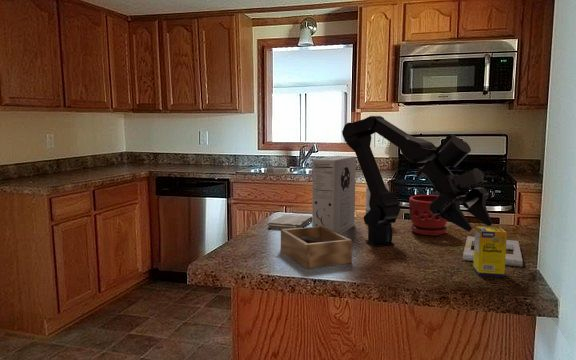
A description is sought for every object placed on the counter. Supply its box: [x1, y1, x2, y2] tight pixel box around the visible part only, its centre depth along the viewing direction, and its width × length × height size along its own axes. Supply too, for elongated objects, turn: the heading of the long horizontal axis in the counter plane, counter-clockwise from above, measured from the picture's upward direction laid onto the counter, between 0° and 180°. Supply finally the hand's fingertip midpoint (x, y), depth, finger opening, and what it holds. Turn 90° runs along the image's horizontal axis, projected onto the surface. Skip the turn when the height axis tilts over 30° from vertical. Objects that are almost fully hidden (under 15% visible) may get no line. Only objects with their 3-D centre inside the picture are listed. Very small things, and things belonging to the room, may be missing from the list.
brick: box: [299, 236, 332, 244], centre depth 123 cm, size 11×4×5 cm, turn 58°
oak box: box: [280, 226, 353, 269], centre depth 121 cm, size 13×18×6 cm
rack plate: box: [462, 235, 524, 267], centre depth 125 cm, size 22×14×2 cm, turn 155°
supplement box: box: [472, 225, 508, 278], centre depth 107 cm, size 6×6×11 cm
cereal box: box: [311, 155, 357, 235], centre depth 150 cm, size 22×8×25 cm, turn 154°
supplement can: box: [365, 181, 390, 215], centre depth 163 cm, size 8×8×15 cm
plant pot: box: [408, 194, 449, 236], centre depth 148 cm, size 13×13×12 cm
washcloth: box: [266, 214, 312, 231], centre depth 161 cm, size 12×18×3 cm, turn 161°
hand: (480, 227), depth 109 cm, fingers open, 9 cm apart
